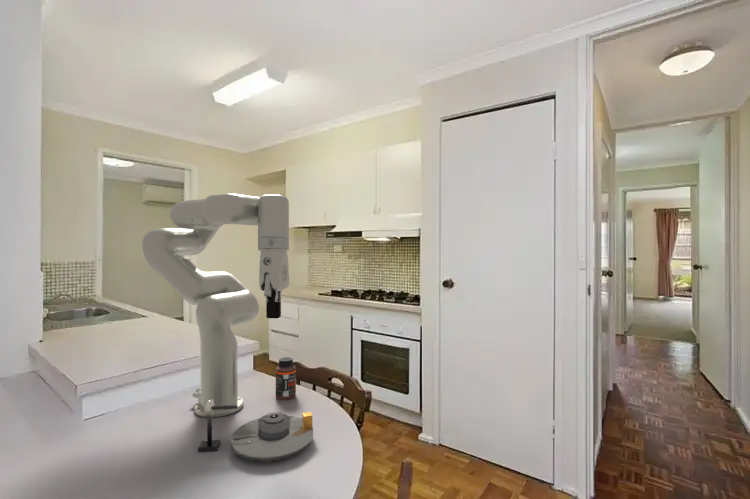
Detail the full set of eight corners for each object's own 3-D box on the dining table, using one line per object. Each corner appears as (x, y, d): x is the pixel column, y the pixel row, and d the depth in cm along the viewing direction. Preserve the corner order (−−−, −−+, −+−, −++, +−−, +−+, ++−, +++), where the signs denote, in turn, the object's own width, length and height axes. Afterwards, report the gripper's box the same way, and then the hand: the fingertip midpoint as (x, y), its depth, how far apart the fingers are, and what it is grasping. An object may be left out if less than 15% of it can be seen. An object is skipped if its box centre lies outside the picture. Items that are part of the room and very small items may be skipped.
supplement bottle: (291, 401, 113) (290, 362, 113) (271, 399, 114) (271, 361, 114) (299, 393, 119) (299, 356, 119) (280, 392, 120) (280, 355, 120)
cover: (257, 442, 84) (257, 424, 84) (258, 427, 91) (258, 410, 91) (290, 438, 86) (290, 421, 86) (289, 424, 93) (289, 408, 93)
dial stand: (197, 452, 85) (197, 403, 85) (202, 444, 89) (202, 397, 88) (235, 450, 86) (235, 402, 86) (239, 442, 90) (239, 395, 89)
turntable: (232, 468, 77) (232, 446, 77) (230, 428, 94) (230, 409, 94) (321, 451, 84) (321, 430, 84) (304, 416, 100) (304, 399, 100)
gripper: (279, 244, 90) (279, 324, 90) (296, 244, 105) (296, 312, 105) (247, 244, 91) (247, 323, 91) (268, 244, 105) (268, 312, 106)
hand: (273, 317), depth 98 cm, fingers closed
